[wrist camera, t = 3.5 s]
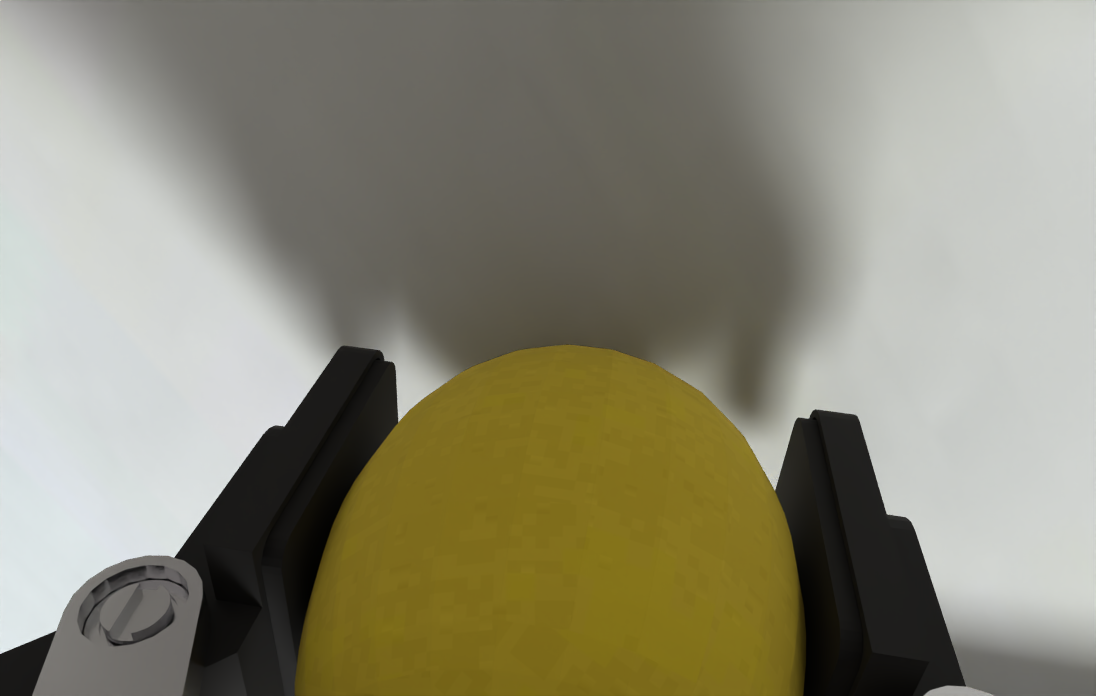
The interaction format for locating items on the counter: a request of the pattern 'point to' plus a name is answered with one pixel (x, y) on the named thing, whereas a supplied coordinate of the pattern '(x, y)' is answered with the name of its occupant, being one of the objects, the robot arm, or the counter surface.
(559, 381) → the lemon
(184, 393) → the counter surface
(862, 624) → the robot arm
